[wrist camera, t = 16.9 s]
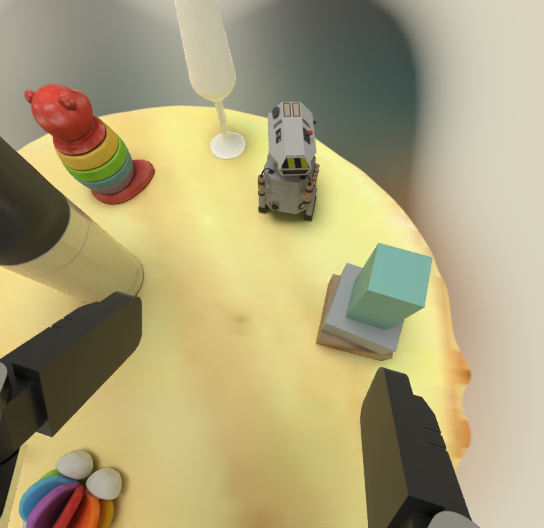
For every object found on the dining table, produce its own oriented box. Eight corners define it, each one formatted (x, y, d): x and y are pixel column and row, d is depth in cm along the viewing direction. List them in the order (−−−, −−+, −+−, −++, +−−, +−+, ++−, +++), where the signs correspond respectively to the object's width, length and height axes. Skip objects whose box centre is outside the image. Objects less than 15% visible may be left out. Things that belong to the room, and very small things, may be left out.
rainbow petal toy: (95, 560, 33) (47, 605, 27) (30, 513, 35) (-30, 544, 28) (138, 478, 36) (105, 500, 29) (76, 439, 38) (31, 451, 31)
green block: (345, 316, 34) (367, 289, 25) (354, 280, 35) (378, 242, 26) (386, 329, 33) (424, 307, 24) (393, 292, 35) (432, 257, 26)
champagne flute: (224, 165, 54) (184, 9, 31) (203, 144, 56) (150, -17, 33) (253, 145, 55) (234, -16, 33) (231, 125, 57) (199, -39, 35)
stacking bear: (159, 166, 54) (105, 70, 37) (133, 212, 50) (60, 128, 34) (107, 153, 55) (33, 56, 39) (78, 197, 52) (-17, 110, 35)
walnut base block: (315, 343, 42) (319, 339, 37) (328, 284, 45) (332, 274, 41) (380, 360, 40) (392, 358, 36) (388, 299, 44) (399, 289, 40)
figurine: (321, 173, 52) (335, 97, 38) (309, 230, 48) (320, 167, 34) (270, 165, 53) (266, 88, 39) (255, 220, 49) (244, 155, 35)
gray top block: (320, 329, 38) (325, 322, 34) (340, 275, 41) (347, 262, 36) (382, 355, 36) (395, 351, 32) (398, 297, 39) (412, 286, 35)
